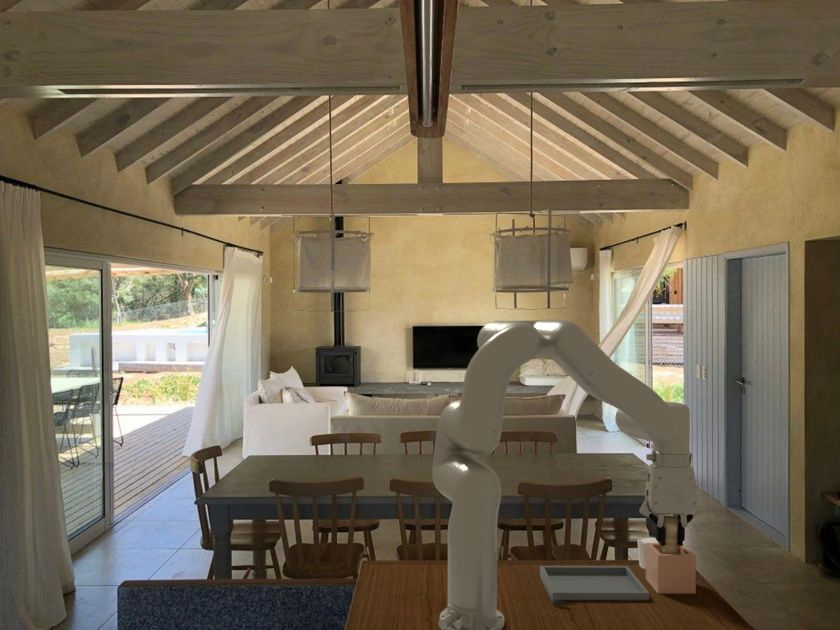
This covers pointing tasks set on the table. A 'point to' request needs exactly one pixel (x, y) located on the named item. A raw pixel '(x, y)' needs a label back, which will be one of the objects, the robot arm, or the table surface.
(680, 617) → the table surface
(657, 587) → the holder
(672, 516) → the dowel
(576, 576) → the tray
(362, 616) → the table surface
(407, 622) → the table surface
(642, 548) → the cream short cylinder
